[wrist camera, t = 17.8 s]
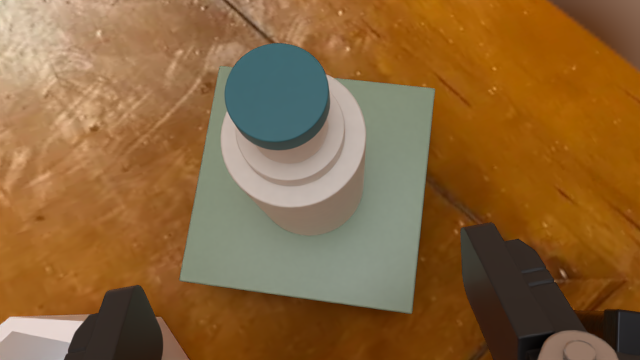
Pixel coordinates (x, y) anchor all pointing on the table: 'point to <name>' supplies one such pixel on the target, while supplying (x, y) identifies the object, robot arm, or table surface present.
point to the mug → (59, 338)
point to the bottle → (294, 139)
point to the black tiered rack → (614, 328)
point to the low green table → (335, 246)
